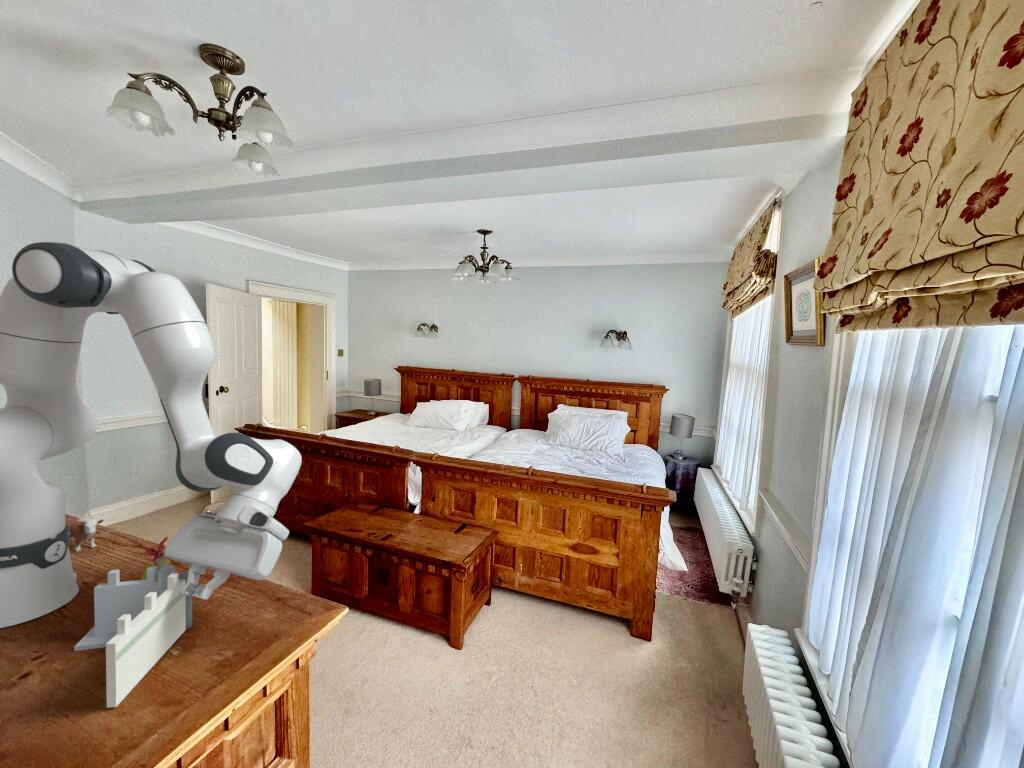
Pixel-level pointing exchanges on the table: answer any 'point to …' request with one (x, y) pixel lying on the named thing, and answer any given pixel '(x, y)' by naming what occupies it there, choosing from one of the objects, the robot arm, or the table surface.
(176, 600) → the fence panel
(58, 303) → the robot arm
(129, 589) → the grey toy wall
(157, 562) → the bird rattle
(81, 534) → the bull figurine
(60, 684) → the table surface
